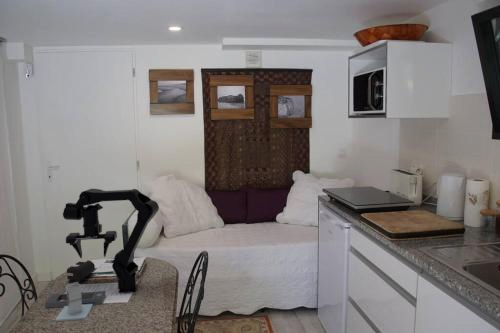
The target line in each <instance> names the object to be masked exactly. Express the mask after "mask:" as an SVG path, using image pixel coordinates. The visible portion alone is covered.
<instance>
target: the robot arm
mask: <svg viewBox="0 0 500 333" xmlns="http://www.w3.org/2000/svg"><path fill="white" fill-rule="evenodd" d="M116 201H117V202H118V201H119V202H121V201H129V202H131V205H132V206H133V208H134V209H135V210H136V211H137V215H136V216H137V218H136V221H135V222H136V223H135V225H134V227H133V229H132V231H131V233H130V235H129V238H128V240H127V242H126V243H125V246H124V248H122V249H120V250H119V251H118V252H117V253H116V254H115V256H114V259H113V260H112V261H111V263H112V265H111V268H112V270H113V272H114V273H115V275H116V277H117V279H118V280H117V289H118V293H120V294H122V293H133V292H134V293H135V292H136V291H137V288H138V283H137V282H138V281H137V271H138V270H139V265H138V264H137V263H135V261H134V260H135V259H134V258H135V252H136V249H137V248H138V245H139V243H140V241H141V239H142V236H143V235H144V233H145V231H146V230H147V228H148V224H149V223H150V222H151V221H152V219H154V217H155V216H156V214H157V212H158V211H159V209H160V207H159V204H158V202H157V201H155V200H152V198H150V197H149V196H147V195H145V194H144V193H142V192H141V191H139V190H138V189H136V188H132V189H118V190H115V189H114V190H103V189H99V188H89V189H86V190H84V191H81V192H80V193H79V197H78V200H76V202H74V203H73V202H68V203H65V206H64V209H63V212H62V218H63V219H64V220H66V221H68V220H69V221H81V220H82V223H83V224H82V228H83V234H81V233H80V232H70V233H69V234H68V235H67V236H66V237H65V244H69V246H72V247H73V249H74V250H75V252H76V253H77V255H78V256H79V258H80V259H82V258H83V250H82V244H81V243H82V242H81V241H84V240H85V241H86V240H98V239H99V240H101V239H103V240H104V241H103V257H104V258H105V257H106V256H107V252H108V249H109V246H110V244H112V242H115V241H116V239H117V238H118V232H117V231H116V230H109V231H107V230H106V232H105V233H102V232H103V224H102V223H100V221H99V211H100V210H102V209H104V206H102V205H100V203H101V202H116Z"/></svg>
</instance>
